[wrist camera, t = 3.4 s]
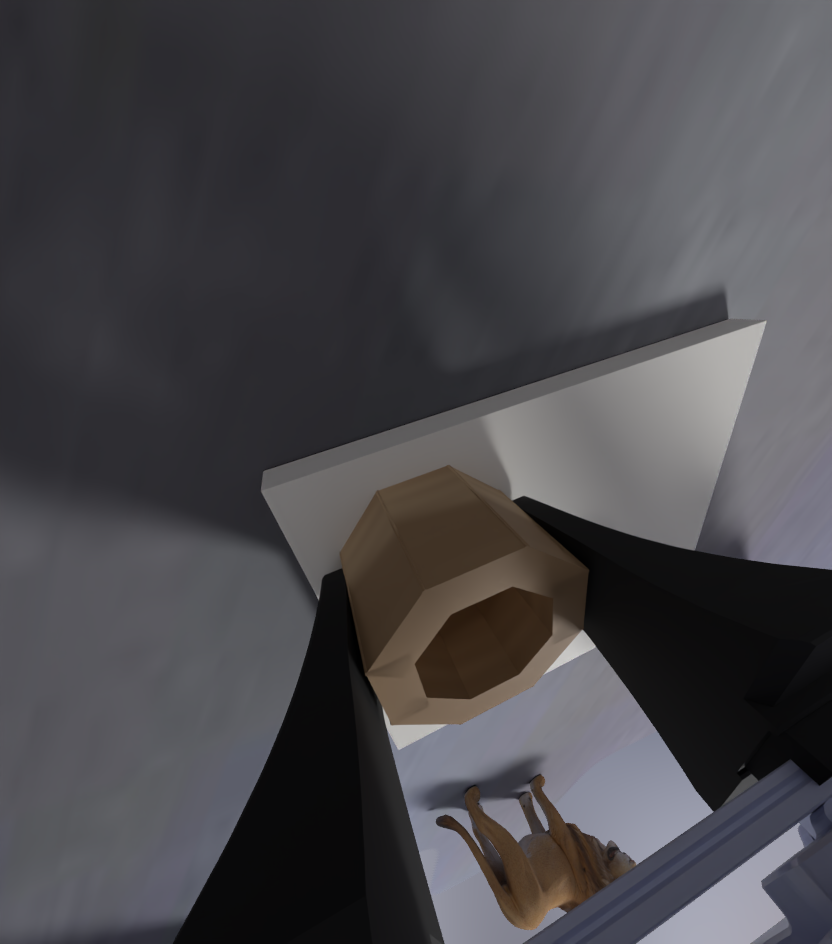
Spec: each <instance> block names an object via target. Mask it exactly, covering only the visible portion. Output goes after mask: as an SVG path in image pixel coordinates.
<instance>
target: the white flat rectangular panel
mask: <svg viewBox="0 0 832 944" xmlns="http://www.w3.org/2000/svg"><path fill="white" fill-rule="evenodd" d="M766 322H767V320H748V319H728V320H724V321H721V322H718V323H715V324H712V325H709V326H706V327H703V328H700V329H697V330H694V331H691V332H688V333H685V334H682V335H679V336H675V337H672V338H669V339H666V340H663V341H660V342H657V343H654V344H651V345H648V346H645V347H642V348H639V349H636V350H633V351H630V352H626V353H623V354H620V355H617V356H614V357H611V358H608V359H605V360H602V361H599V362H596V363H593V364H590V365H587V366H584V367H581V368H577V369H574V370H571V371H568V372H565V373H562V374H559V375H556V376H553V377H550V378H547V379H544V380H541V381H538V382H535V383H532V384H528V385H525V386H522V387H519V388H516V389H513V390H510V391H507V392H504V393H501V394H498V395H495V396H492V397H489V398H486V399H483V400H480V401H476V402H473V403H470V404H467V405H464V406H461V407H458V408H455V409H452V410H449V411H446V412H443V413H440V414H437V415H434V416H431V417H427V418H424V419H421V420H418V421H415V422H412V423H409V424H406V425H403V426H400V427H397V428H394V429H391V430H388V431H385V432H382V433H378V434H375V435H372V436H369V437H366V438H363V439H360V440H357V441H354V442H351V443H348V444H345V445H342V446H339V447H336V448H333V449H329V450H326V451H323V452H320V453H317V454H314V455H311V456H308V457H305V458H302V459H299V460H296V461H293V462H290V463H287V464H284V465H280V466H277V467H274V468H271V469H268V470H265V471H263V478H262V485H261V492H262V494H263V496H264V498H265V500H266V502H267V504H268V506H269V507H270V509H271V511H272V513H273V515H274V517H275V519H276V521H277V522H278V524H279V526H280V528H281V530H282V532H283V534H284V536H285V538H286V539H287V541H288V543H289V545H290V547H291V549H292V551H293V553H294V554H295V556H296V558H297V560H298V562H299V564H300V566H301V568H302V569H303V571H304V573H305V575H306V577H307V579H308V581H309V583H310V585H311V586H312V588H313V590H314V592H315V594H316V596H317V598H318V600H319V597H320V590H321V583H322V578H323V577H324V575H326V574H329V573H331V572H334V571H336V570H339V569H341V568H342V564H341V559H340V554H339V553H340V552H339V551H341V550H342V548H343V546H344V545H345V543H346V541H347V540H348V538H349V536H350V535H351V533H352V531H353V530H354V528H355V526H356V525H357V523H358V521H359V520H360V518H361V516H362V515H363V513H364V511H365V510H366V508H367V506H368V505H369V503H370V501H371V500H372V498H373V496H374V495H375V493H376V491H377V490H381V489H384V488H387V487H390V486H392V485H395V484H398V483H401V482H403V481H406V480H409V479H412V478H415V477H417V476H420V475H423V474H426V473H428V472H431V471H434V470H437V469H439V468H442V467H445V466H447V465H450V466H451V467H453V468H455V469H457V470H459V471H461V472H463V473H465V474H467V475H469V476H471V477H473V478H475V479H477V480H479V481H481V482H483V483H485V484H487V485H489V486H491V487H493V488H495V489H497V490H500V491H502V492H503V493H504V494H505V495H506V496H507V497H508V498H509V499H511V500H514V499H517V498H519V497H522V496H526V497H529V498H532V499H534V500H537V501H539V502H542V503H544V504H547V505H549V506H552V507H554V508H557V509H559V510H562V511H564V512H567V513H570V514H572V515H575V516H577V517H580V518H583V519H585V520H588V521H591V522H594V523H596V524H599V525H602V526H605V527H608V528H611V529H614V530H617V531H620V532H623V533H627V534H630V535H633V536H637V537H640V538H644V539H648V540H651V541H655V542H659V543H663V544H667V545H671V546H675V547H680V548H684V549H689V550H694V551H695V549H696V545H697V542H698V539H699V536H700V533H701V529H702V526H703V523H704V520H705V517H706V514H707V510H708V507H709V504H710V501H711V498H712V494H713V491H714V488H715V485H716V482H717V478H718V475H719V472H720V469H721V466H722V462H723V459H724V456H725V453H726V450H727V446H728V443H729V440H730V437H731V434H732V430H733V427H734V424H735V421H736V418H737V415H738V411H739V408H740V405H741V402H742V399H743V395H744V392H745V389H746V386H747V383H748V379H749V376H750V373H751V370H752V367H753V363H754V360H755V357H756V354H757V351H758V347H759V344H760V341H761V338H762V335H763V332H764V328H765V325H766ZM595 647H596V646H595V644H594V643H593V642H592V640H591V639H590V638H589V637H588V635H587V634H586V633H585V632H584V631H583V630H582V631H581V632H580V633H579V634H578V635H577V636H576V638H575V639H574V640H573V641H572V642H571V643H570V644H569V646H568V647H567V648H566V649H565V650H564V651H563V652H562V654H561V655H560V656H559V657H558V658H557V659H556V661H555V662H554V663H553V664H552V665H551V666H550V667H549V669H548V670H547V671H546V672H545V673H547V672H549V671H551V670H553V669H555V668H557V667H559V666H561V665H563V664H565V663H567V662H568V661H570V660H572V659H574V658H576V657H578V656H580V655H582V654H584V653H586V652H588V651H590V650H591V649H593V648H595ZM545 673H544V674H545ZM544 674H543V675H544ZM382 708H383V707H382ZM383 714H384V719H385V724H386V727H387V729H388V731H389V733H390V735H391V737H392V739H393V741H394V742H395V744H396V746H397V748H398V750H400V749H402V748H403V747H405V746H407V745H409V744H411V743H413V742H415V741H417V740H419V739H421V738H423V737H425V736H427V735H428V734H430V733H432V732H434V731H436V730H438V729H440V728H442V727H444V726H446V725H448V724H435V725H393V726H392V725H390V721H389V718H388V716H387V715H386V713H385V711H384V709H383Z"/></svg>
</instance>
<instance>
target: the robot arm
mask: <svg viewBox="0 0 832 944" xmlns="http://www.w3.org/2000/svg"><path fill="white" fill-rule="evenodd" d="M512 501H513V502H514V503H515V504H516V505H517V506H518V507H519V508H521V509H522V510H523V511H524V512H525V513H526V514H527V515H528V516H530V517H531V518H532V519H533V520H534V521H535V522H536V523H537V524H539V525H540V526H541V527H542V528H543V529H544V530H545V531H546V532H548V533H549V534H550V535H551V536H552V537H553V538H554V539H555V540H557V541H558V542H559V543H560V544H561V545H562V546H563V547H564V548H566V549H567V550H568V551H569V552H570V553H571V554H572V555H573V556H575V557H576V558H577V559H578V560H579V561H580V562H581V563H582V564H584V565H585V566H586V567H587V568H588V569H589V573H588V583H587V594H586V604H585V615H584V626H583V627H584V628H583V631H584V632H585V633H586V634H587V635H588V637H589V638H590V639H591V640H592V642H593V643H594V644H595V646H596V647H597V648H598V650H599V651H600V652H601V653H602V655H603V656H604V657H605V659H606V660H607V661H608V663H609V664H610V665H611V667H612V668H613V669H614V671H615V672H616V674H617V675H618V676H619V678H620V679H621V680H622V682H623V683H624V684H625V686H626V687H627V688H628V690H629V691H630V693H631V694H632V695H633V697H634V698H635V700H636V701H637V703H638V704H639V705H640V707H641V708H642V710H643V711H644V713H645V714H646V716H647V717H648V718H649V720H650V721H651V723H652V724H653V726H654V727H655V728H656V730H657V731H658V733H659V734H660V736H661V737H662V739H663V741H664V742H665V744H666V745H667V747H668V748H669V750H670V751H671V753H672V754H673V756H674V757H675V759H676V760H677V762H678V763H679V765H680V766H681V768H682V769H683V771H684V772H685V774H686V776H687V777H688V779H689V780H690V782H691V783H692V785H693V787H694V788H695V790H696V791H697V792H698V794H699V795H700V796H701V797H702V798H703V800H704V801H705V802H706V803H707V804H708V806H709V807H710V808H711V809H712V810H713V811H714V812H713V813H712V814H710V815H709V816H707V817H706V818H705V819H703V820H702V821H700V822H699V823H698V824H696V825H694V826H693V827H691V828H690V829H688V830H687V831H685V832H684V833H683V834H681V835H680V836H678V837H677V838H675V839H674V840H672V841H671V842H670V843H668V844H667V845H665V846H664V847H662V848H661V849H659V850H658V851H657V852H655V853H654V854H652V855H651V856H649V857H648V858H646V859H645V860H643V861H642V862H641V863H639V864H638V865H636V866H635V867H633V868H632V869H630V870H629V871H627V872H626V873H625V874H623V875H622V876H620V877H619V878H617V879H616V880H614V881H613V882H612V883H610V884H609V885H607V886H606V887H604V888H603V889H601V890H600V891H598V892H597V893H596V894H594V895H593V896H591V897H590V898H588V899H587V900H585V901H584V902H582V903H581V904H580V905H578V906H577V907H575V908H574V909H572V910H571V911H569V912H568V913H567V914H565V915H564V916H562V917H561V918H559V919H558V920H557V921H555V922H554V923H552V924H551V925H549V926H548V927H546V928H545V929H543V930H542V931H540V932H539V933H538V934H536V935H535V936H533V937H532V938H530V939H529V940H527V941H526V942H525V943H523V944H636V943H637V942H639V941H640V940H641V939H643V938H644V937H645V936H647V935H648V934H649V933H651V932H652V931H654V930H655V929H656V928H658V927H659V926H660V925H662V924H663V923H664V922H666V921H667V920H668V919H670V918H671V917H672V916H673V915H675V914H676V913H678V912H679V911H680V910H682V909H683V908H684V907H686V906H687V905H688V904H690V903H691V902H692V901H694V900H695V899H696V898H698V897H699V896H701V895H702V894H703V893H705V892H706V891H707V890H709V889H710V888H711V887H713V886H714V885H715V884H717V883H718V882H719V881H721V880H722V879H723V878H725V877H726V876H727V875H729V874H730V873H731V872H733V871H734V870H735V869H737V868H738V867H740V866H741V865H742V864H743V863H745V862H746V861H747V860H749V859H750V858H752V857H753V856H754V855H756V854H757V853H758V852H760V851H761V850H762V849H764V848H765V847H766V846H768V845H769V844H770V843H772V842H773V841H774V840H776V839H777V838H778V837H780V836H781V835H782V834H784V833H785V832H787V831H788V830H789V829H791V828H792V827H793V826H795V825H796V824H797V823H800V824H801V825H800V826H799V827H798V832H799V835H800V837H801V840H802V842H803V845H804V848H803V849H802V850H801V851H799V852H798V853H797V854H795V855H794V856H793V857H791V858H790V859H788V860H787V861H786V862H785V863H783V864H782V865H781V866H779V867H778V868H777V869H776V870H775V871H773V872H772V873H771V874H769V875H768V876H767V877H766V878H765V879H763V880H762V881H761V882H762V887H763V889H764V890H765V891H766V893H767V894H768V895H769V896H770V898H771V899H772V900H773V901H774V903H775V904H776V905H777V906H778V907H779V909H780V910H781V911H782V912H783V914H784V915H785V916H786V917H785V918H784V919H782V920H781V921H780V922H778V923H777V924H776V925H775V926H773V927H772V928H770V929H769V930H768V931H767V932H765V933H764V934H763V935H761V936H760V937H759V938H757V939H756V940H755V941H753V942H752V943H751V944H832V570H828V569H819V568H809V567H799V566H789V565H780V564H772V563H764V562H758V561H751V560H744V559H737V558H731V557H725V556H719V555H714V554H709V553H704V552H699V551H694V550H689V549H684V548H680V547H675V546H671V545H667V544H663V543H659V542H655V541H651V540H648V539H644V538H640V537H637V536H633V535H630V534H627V533H623V532H620V531H617V530H614V529H611V528H608V527H605V526H602V525H599V524H596V523H594V522H591V521H588V520H585V519H583V518H580V517H577V516H575V515H572V514H570V513H567V512H564V511H562V510H559V509H557V508H554V507H552V506H549V505H547V504H544V503H542V502H539V501H537V500H534V499H532V498H529V497H526V496H522V497H519V498H517V499H514V500H512ZM173 944H444V940H443V937H442V933H441V930H440V926H439V923H438V919H437V916H436V912H435V909H434V905H433V901H432V898H431V894H430V891H429V887H428V883H427V880H426V876H425V873H424V869H423V865H422V862H421V858H420V855H419V851H418V847H417V844H416V840H415V836H414V833H413V829H412V825H411V822H410V818H409V814H408V810H407V807H406V803H405V799H404V795H403V791H402V788H401V784H400V780H399V776H398V773H397V769H396V765H395V761H394V757H393V753H392V749H391V745H390V742H389V738H388V733H387V729H386V724H385V719H384V714H383V708H382V705H381V703H380V701H379V699H378V697H377V695H376V693H375V691H374V689H373V687H372V685H371V683H370V681H369V679H368V677H367V676H365V673H364V668H363V663H362V659H361V654H360V649H359V644H358V640H357V635H356V630H355V625H354V621H353V616H352V611H351V607H350V602H349V597H348V590H347V585H346V580H345V576H344V573H343V569H342V568H341V569H339V570H336V571H334V572H331V573H329V574H326V575H324V577H323V578H322V583H321V590H320V597H319V602H318V608H317V612H316V617H315V621H314V626H313V630H312V634H311V638H310V642H309V646H308V649H307V653H306V656H305V659H304V663H303V666H302V669H301V673H300V676H299V679H298V682H297V685H296V688H295V691H294V694H293V697H292V699H291V702H290V705H289V707H288V710H287V713H286V715H285V718H284V721H283V723H282V726H281V728H280V731H279V733H278V735H277V738H276V740H275V742H274V745H273V747H272V750H271V752H270V754H269V757H268V759H267V761H266V764H265V766H264V768H263V770H262V773H261V775H260V777H259V779H258V781H257V783H256V785H255V787H254V790H253V792H252V794H251V796H250V798H249V800H248V802H247V804H246V806H245V808H244V810H243V812H242V814H241V816H240V818H239V820H238V822H237V824H236V826H235V828H234V831H233V833H232V835H231V837H230V839H229V841H228V843H227V844H226V846H225V848H224V850H223V852H222V854H221V856H220V858H219V860H218V862H217V863H216V865H215V867H214V869H213V871H212V873H211V874H210V876H209V878H208V880H207V882H206V884H205V885H204V887H203V889H202V891H201V893H200V895H199V896H198V898H197V900H196V902H195V904H194V906H193V907H192V909H191V911H190V913H189V915H188V917H187V918H186V920H185V922H184V924H183V926H182V928H181V929H180V931H179V933H178V935H177V937H176V938H175V940H174V942H173Z"/></svg>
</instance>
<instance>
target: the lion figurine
mask: <svg viewBox="0 0 832 944" xmlns="http://www.w3.org/2000/svg"><path fill="white" fill-rule="evenodd" d="M544 783H545V779H544V777H543V776H542V775H538V776H537V777H535V778H534V779H533V780H532V781H531V782H530V788H531V791H532V793H533V795H534V797H535V799H536V800H537V802H538V804H539V805H540V807H541V808H542V810H543V812H544V814H545V816H546V818H547V821H548V826H549V830H548V831H545V829H544V828H543V826H542V824H541V822H540V820H539V819H538V817H537V815H536V813H535V810H534V807H533V802H532V795H531V793H530V792H527V793H525V794H523V795H522V796H521V797H520V798H519V802H520V805H521V807H522V809H523V812H524V814H525V817H526V819H527V821H528V824H529V826H530V829H531V832H532V834H529V835H526V836H524V837H523V838H522V839H521V840H520V841H519V843H517V841H516V840H515V839H514V838H513V837H512V835H511V834H510V833H509V832H508V831H507V830H506V829H505V828H503V827H502V826H501V825H500V824H498V823H497V822H496V821H494V820H493V819H491V818H490V817H488V816H487V815H486V814H485V813H484V811H483V808H482V806H481V805H478V803H477V802H478V801H479V799H480V791H479V789H478V788H477V787H476V786H474V787H472V788H470V789H469V790H468V791H467V792H466V793H465V804H466V807H467V809H468V811H469V817H470V819H471V823H472V829H473V832H474V835H475V837H476V838H477V840H478V841H479V843H480V846H481V848H482V851H483V853H484V855H483V854H482V852H481V850H480V849H479V847H478V846H477V844H476V843H475V841H474V840H473V838H472V837H471V836H470V834H469V833H468V832H467V830H466V829H465V828H464V827H463V826H462V825H461V824H460V823H458V822H457V821H456V820H455V819H454V818H453V817H451V816H448V815H446V814H445V815H444V816H440V817H438V818H437V819H436V824H437V825H438V826H440V827H443V828H447V829H451V830H454V831H456V832H458V833H459V834H460V835H461V836H462V838H463V839H464V840H465V841H466V843H467V844H468V846H469V848H470V849H471V851H472V853H473V855H474V857H475V858H476V860H477V862H478V864H479V865H480V868H481V870H482V872H483V873H484V875H485V877H486V879H487V881H488V883H489V885H490V887H491V889H492V891H493V892H494V894H495V897H496V899H497V902H498V904H499V906H500V908H501V911H502V912H503V914H504V916H505V917H506V918H507V920H508V921H509V922H510V923H511V924H513V925H514V926H515V927H518V928H521V929H524V930H533V929H535V928H537V927H538V926H539V924H540V923H541V922H542V920H543V918H544V917H545V915H546V914H547V912H548V911H549V910H550V909H553V908H556V907H559V908H561V909H562V910H564V911H566V912H567V913H568V912H569V911H571V910H572V909H574V908H575V907H577V906H578V905H580V904H581V903H582V902H584V901H585V900H587V899H588V898H590V897H591V896H593V895H594V894H596V893H597V892H598V891H600V890H601V889H603V888H604V887H606V886H607V885H609V884H610V883H612V882H613V881H614V880H616V879H617V878H619V877H620V876H622V875H623V874H625V873H626V872H627V871H629V870H630V869H632V868H633V867H635V866H636V863H635V862H634V860H632V859H631V858H630V857H629V856H628V855H627V854H626V853H622V852H621V851H620V850H619V848H618V847H617V845H616V844H615V843H614V842H613V841H609V842H608V844H607V846H604V845H603V844H602V843H601V842H600V841H599V840H598V839H597V838H595V837H594V836H590V835H587V834H585V833H582V832H581V831H580V829H579V828H578V827H577V826H576V825H575V824H571V823H565V822H564V821H563V819H562V818H561V816H560V814H559V813H558V811H557V810H556V808H555V807H554V806H553V804H552V803H551V802H550V801H549V800H548V798H547V797H546V796H545V794H544V793H543V791H542V788H541V787H543V786H544ZM488 839H489V840H490V841H491V843H492V844H493V845H492V844H491V843H490V841H489V840H488ZM493 846H494V847H495V848H494V847H493ZM495 849H496V850H497V851H496V850H495ZM497 852H498V853H499V854H498V853H497ZM499 855H500V856H499ZM484 856H485V857H484ZM500 857H501V858H500Z"/></svg>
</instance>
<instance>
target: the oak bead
mask: <svg viewBox="0 0 832 944" xmlns="http://www.w3.org/2000/svg"><path fill="white" fill-rule="evenodd" d="M339 552H340V553H339V554H340V559H341V564H342V569H343V573H344V576H345V580H346V585H347V590H348V597H349V602H350V607H351V611H352V616H353V621H354V625H355V630H356V635H357V640H358V644H359V649H360V654H361V659H362V663H363V668H364V673H365V676H367V677H368V679H369V681H370V683H371V685H372V687H373V689H374V691H375V693H376V695H377V697H378V699H379V701H380V703H381V705H382V707H383V709H384V711H385V713H386V715H387V716H388V718H389V721H390V725H392V726H393V725H435V724H463V723H464V722H466V721H468V720H470V719H472V718H474V717H476V716H478V715H480V714H481V713H483V712H485V711H487V710H489V709H491V708H493V707H495V706H497V705H499V704H500V703H502V702H504V701H506V700H508V699H510V698H512V697H514V696H516V695H518V694H519V693H521V692H523V691H525V690H527V689H529V688H531V687H533V686H534V685H535V684H536V682H537V681H538V680H539V679H540V678H541V677H542V676H543V674H544V673H545V672H546V671H547V670H548V669H549V667H550V666H551V665H552V664H553V663H554V662H555V661H556V659H557V658H558V657H559V656H560V655H561V654H562V652H563V651H564V650H565V649H566V648H567V647H568V646H569V644H570V643H571V642H572V641H573V640H574V639H575V638H576V636H577V635H578V634H579V633H580V632H581V631H582V630H583V628H584V627H583V626H584V615H585V604H586V594H587V583H588V573H589V569H588V568H587V567H586V566H585V565H584V564H582V563H581V562H580V561H579V560H578V559H577V558H576V557H575V556H573V555H572V554H571V553H570V552H569V551H568V550H567V549H566V548H564V547H563V546H562V545H561V544H560V543H559V542H558V541H557V540H555V539H554V538H553V537H552V536H551V535H550V534H549V533H548V532H546V531H545V530H544V529H543V528H542V527H541V526H540V525H539V524H537V523H536V522H535V521H534V520H533V519H532V518H531V517H530V516H528V515H527V514H526V513H525V512H524V511H523V510H522V509H521V508H519V507H518V506H517V505H516V504H515V503H514V502H513V501H512V500H511V499H509V498H508V497H507V496H506V495H505V494H504V493H503V492H502V491H500V490H497V489H495V488H493V487H491V486H489V485H487V484H485V483H483V482H481V481H479V480H477V479H475V478H473V477H471V476H469V475H467V474H465V473H463V472H461V471H459V470H457V469H455V468H453V467H451V466H450V465H447V466H445V467H442V468H439V469H437V470H434V471H431V472H428V473H426V474H423V475H420V476H417V477H415V478H412V479H409V480H406V481H403V482H401V483H398V484H395V485H392V486H390V487H387V488H384V489H381V490H377V491H376V493H375V495H374V496H373V498H372V500H371V501H370V503H369V505H368V506H367V508H366V510H365V511H364V513H363V515H362V516H361V518H360V520H359V521H358V523H357V525H356V526H355V528H354V530H353V531H352V533H351V535H350V536H349V538H348V540H347V541H346V543H345V545H344V546H343V548H342V550H341V551H339Z"/></svg>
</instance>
